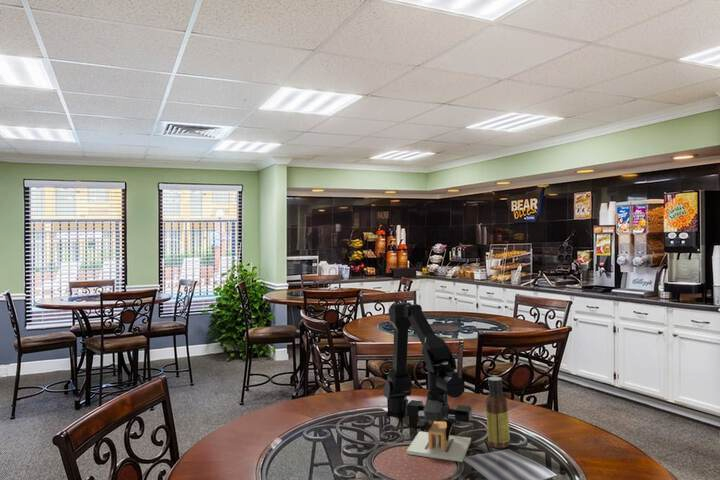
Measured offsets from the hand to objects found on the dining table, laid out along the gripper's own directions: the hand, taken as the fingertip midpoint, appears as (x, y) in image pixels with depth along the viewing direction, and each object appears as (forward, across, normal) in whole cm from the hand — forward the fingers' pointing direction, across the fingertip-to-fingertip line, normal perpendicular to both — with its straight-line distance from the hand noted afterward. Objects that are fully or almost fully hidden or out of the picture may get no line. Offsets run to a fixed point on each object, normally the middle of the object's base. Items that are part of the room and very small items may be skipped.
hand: (439, 439), depth 149 cm
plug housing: (+1, 0, 0) cm, 1 cm away
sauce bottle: (+3, +16, +7) cm, 18 cm away
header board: (+2, 0, 0) cm, 2 cm away
